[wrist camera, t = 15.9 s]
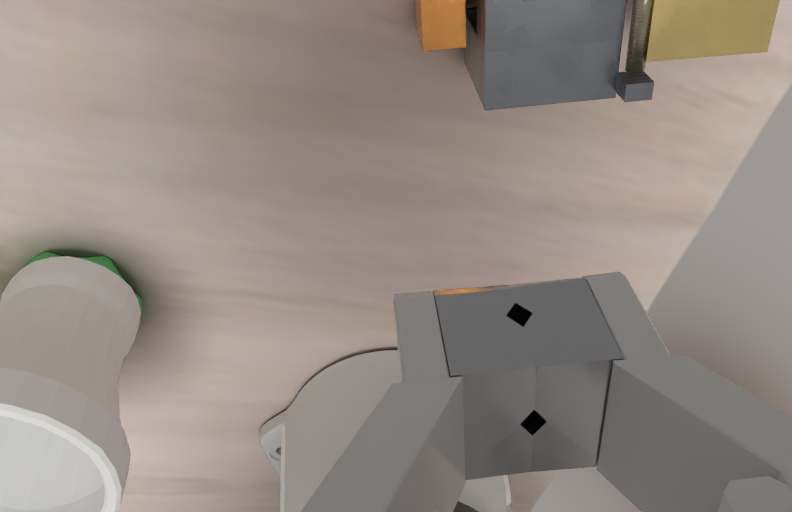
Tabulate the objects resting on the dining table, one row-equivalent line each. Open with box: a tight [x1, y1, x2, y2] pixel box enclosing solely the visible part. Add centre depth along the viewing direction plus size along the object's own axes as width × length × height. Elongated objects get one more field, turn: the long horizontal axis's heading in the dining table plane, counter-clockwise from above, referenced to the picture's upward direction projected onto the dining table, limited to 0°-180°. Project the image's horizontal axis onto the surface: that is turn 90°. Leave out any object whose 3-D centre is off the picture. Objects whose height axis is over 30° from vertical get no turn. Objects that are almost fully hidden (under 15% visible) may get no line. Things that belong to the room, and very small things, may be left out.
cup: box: [0, 252, 142, 512], centre depth 39 cm, size 11×11×14 cm
